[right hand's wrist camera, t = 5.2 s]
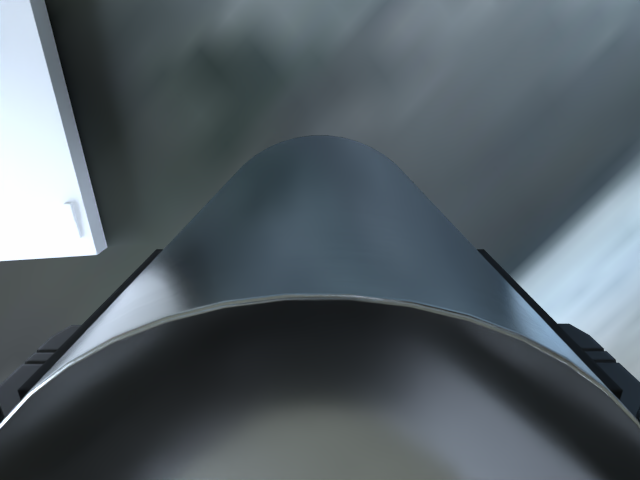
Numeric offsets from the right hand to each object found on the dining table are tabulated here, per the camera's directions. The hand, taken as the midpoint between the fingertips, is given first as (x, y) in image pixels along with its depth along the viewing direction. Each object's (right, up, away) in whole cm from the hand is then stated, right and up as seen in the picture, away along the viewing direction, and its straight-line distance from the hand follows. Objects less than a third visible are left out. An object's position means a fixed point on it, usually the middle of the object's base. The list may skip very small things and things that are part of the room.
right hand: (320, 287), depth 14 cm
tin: (0, +1, +4) cm, 4 cm away
